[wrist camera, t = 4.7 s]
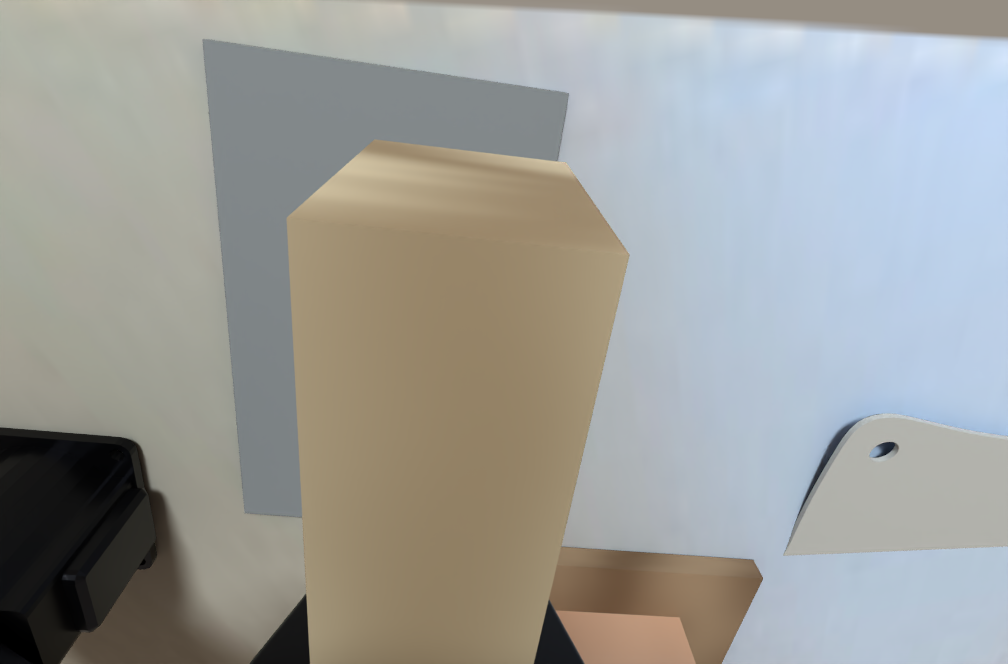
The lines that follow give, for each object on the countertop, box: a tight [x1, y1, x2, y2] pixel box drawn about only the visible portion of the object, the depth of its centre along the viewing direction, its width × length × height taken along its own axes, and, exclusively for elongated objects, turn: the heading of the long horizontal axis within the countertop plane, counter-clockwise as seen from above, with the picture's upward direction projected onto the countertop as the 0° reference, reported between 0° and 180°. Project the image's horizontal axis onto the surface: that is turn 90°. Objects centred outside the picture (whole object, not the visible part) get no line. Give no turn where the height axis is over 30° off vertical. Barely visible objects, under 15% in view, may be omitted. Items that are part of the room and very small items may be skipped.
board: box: [549, 547, 763, 664], centre depth 27 cm, size 14×14×1 cm
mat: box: [203, 39, 569, 517], centre depth 19 cm, size 10×17×1 cm, turn 172°
